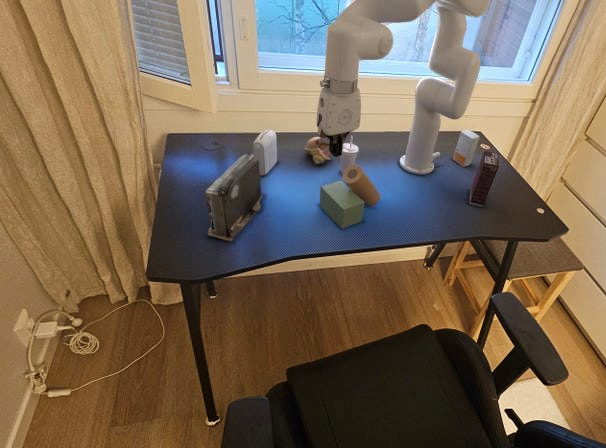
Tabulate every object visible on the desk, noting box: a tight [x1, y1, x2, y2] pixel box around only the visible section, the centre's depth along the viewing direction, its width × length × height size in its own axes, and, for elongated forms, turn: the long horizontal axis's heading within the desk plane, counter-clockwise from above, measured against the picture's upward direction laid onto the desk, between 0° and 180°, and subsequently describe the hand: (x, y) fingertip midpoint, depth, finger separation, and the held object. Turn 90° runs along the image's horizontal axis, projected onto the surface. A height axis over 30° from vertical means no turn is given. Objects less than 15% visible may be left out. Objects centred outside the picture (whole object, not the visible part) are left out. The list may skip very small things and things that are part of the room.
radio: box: [204, 152, 264, 242], centre depth 105 cm, size 23×9×15 cm, turn 164°
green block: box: [319, 179, 365, 230], centre depth 114 cm, size 7×12×7 cm, turn 39°
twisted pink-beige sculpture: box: [303, 136, 332, 165], centre depth 135 cm, size 9×10×10 cm
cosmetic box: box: [452, 129, 481, 168], centre depth 146 cm, size 6×4×12 cm
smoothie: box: [339, 135, 360, 176], centre depth 129 cm, size 6×6×14 cm
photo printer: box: [252, 129, 278, 176], centre depth 125 cm, size 10×4×12 cm, turn 169°
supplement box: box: [468, 150, 500, 208], centre depth 128 cm, size 9×5×16 cm, turn 170°
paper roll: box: [342, 164, 381, 208], centre depth 115 cm, size 13×6×15 cm, turn 129°
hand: (335, 153), depth 101 cm, fingers closed
